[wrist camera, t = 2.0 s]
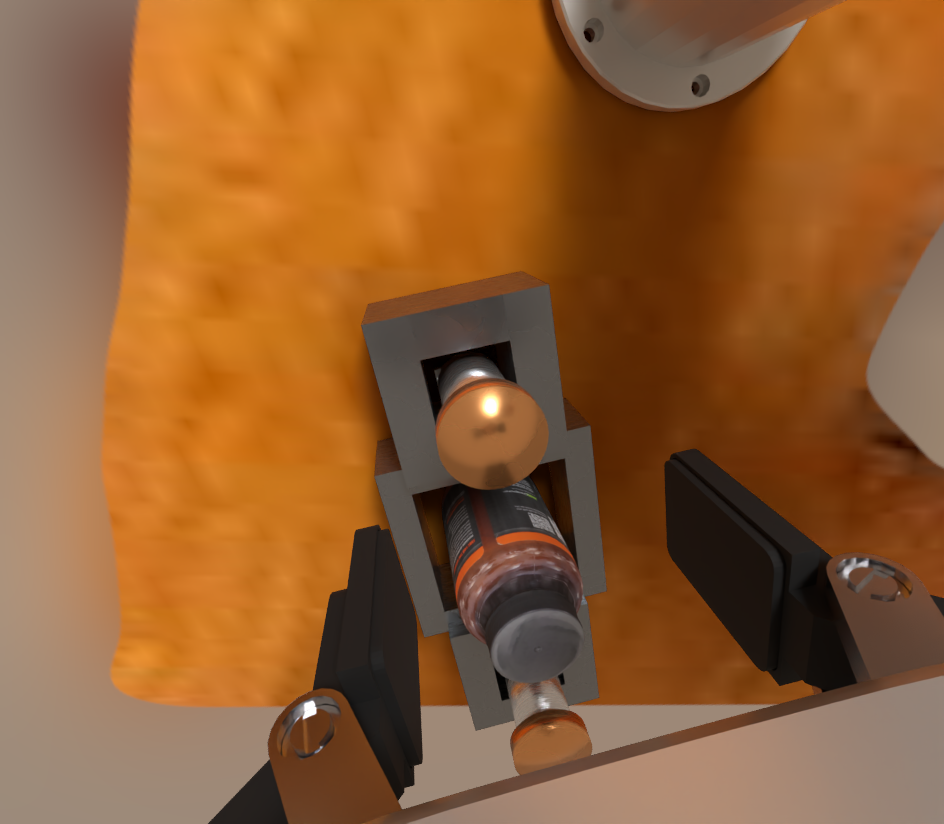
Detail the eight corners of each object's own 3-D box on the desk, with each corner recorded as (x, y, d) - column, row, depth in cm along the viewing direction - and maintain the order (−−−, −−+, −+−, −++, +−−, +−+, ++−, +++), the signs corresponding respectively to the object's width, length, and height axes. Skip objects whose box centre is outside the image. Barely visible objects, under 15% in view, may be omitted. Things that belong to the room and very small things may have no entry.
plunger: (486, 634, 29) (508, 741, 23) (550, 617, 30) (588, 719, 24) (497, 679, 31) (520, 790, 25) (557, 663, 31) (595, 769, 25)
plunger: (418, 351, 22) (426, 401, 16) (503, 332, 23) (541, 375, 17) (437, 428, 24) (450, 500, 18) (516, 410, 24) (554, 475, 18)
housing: (338, 310, 25) (325, 333, 20) (549, 265, 25) (583, 277, 21) (445, 667, 35) (452, 736, 30) (592, 629, 35) (621, 691, 31)
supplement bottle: (443, 544, 31) (466, 712, 20) (436, 461, 29) (459, 603, 18) (535, 532, 31) (603, 690, 21) (536, 450, 29) (612, 582, 19)
